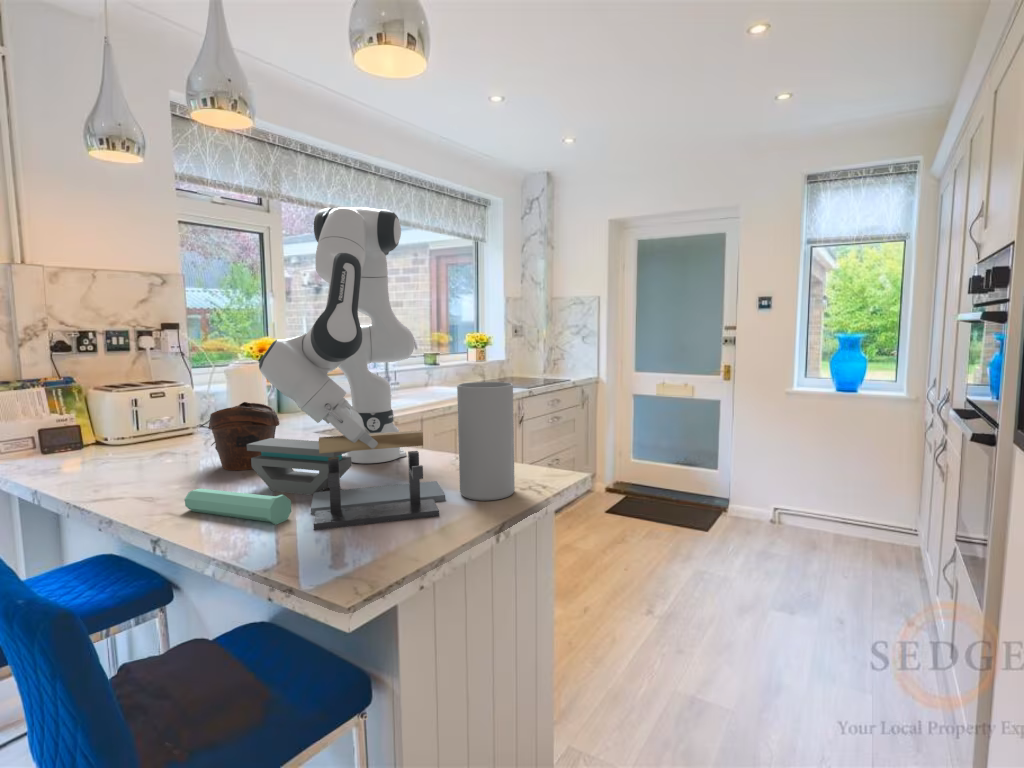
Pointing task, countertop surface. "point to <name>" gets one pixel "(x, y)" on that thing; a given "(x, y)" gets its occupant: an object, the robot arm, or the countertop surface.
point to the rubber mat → (377, 495)
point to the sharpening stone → (294, 465)
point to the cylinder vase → (486, 440)
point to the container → (239, 505)
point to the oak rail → (382, 439)
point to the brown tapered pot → (241, 432)
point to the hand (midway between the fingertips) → (375, 444)
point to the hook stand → (375, 512)
